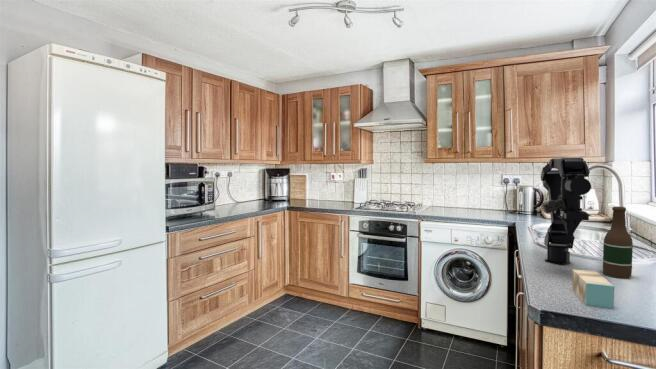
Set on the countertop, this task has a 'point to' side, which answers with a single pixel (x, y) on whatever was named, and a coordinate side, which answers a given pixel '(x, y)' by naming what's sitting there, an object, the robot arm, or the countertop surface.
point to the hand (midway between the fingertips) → (569, 236)
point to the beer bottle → (618, 247)
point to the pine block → (593, 288)
